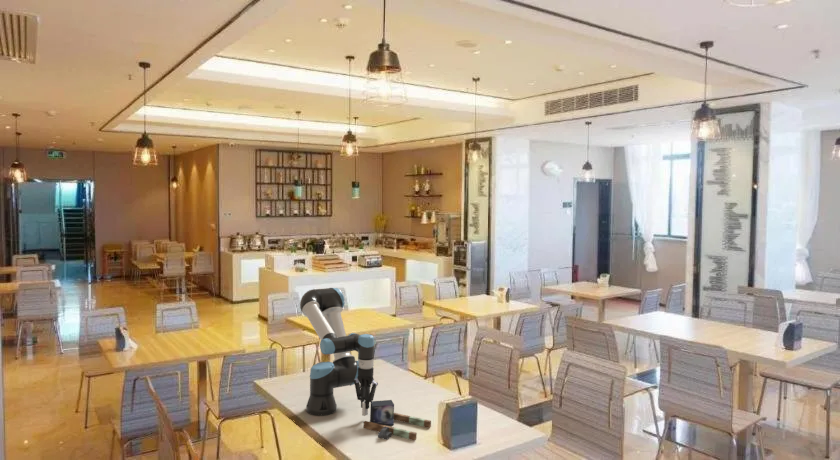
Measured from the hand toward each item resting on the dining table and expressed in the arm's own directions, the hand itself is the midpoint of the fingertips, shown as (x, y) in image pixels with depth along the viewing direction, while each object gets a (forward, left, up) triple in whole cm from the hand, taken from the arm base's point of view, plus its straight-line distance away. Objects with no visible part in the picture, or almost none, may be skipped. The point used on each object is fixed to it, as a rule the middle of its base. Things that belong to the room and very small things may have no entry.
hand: (364, 414), depth 281 cm
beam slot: (+18, 0, -3) cm, 18 cm away
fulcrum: (+18, -12, -3) cm, 22 cm away
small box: (+9, 0, -3) cm, 10 cm away
